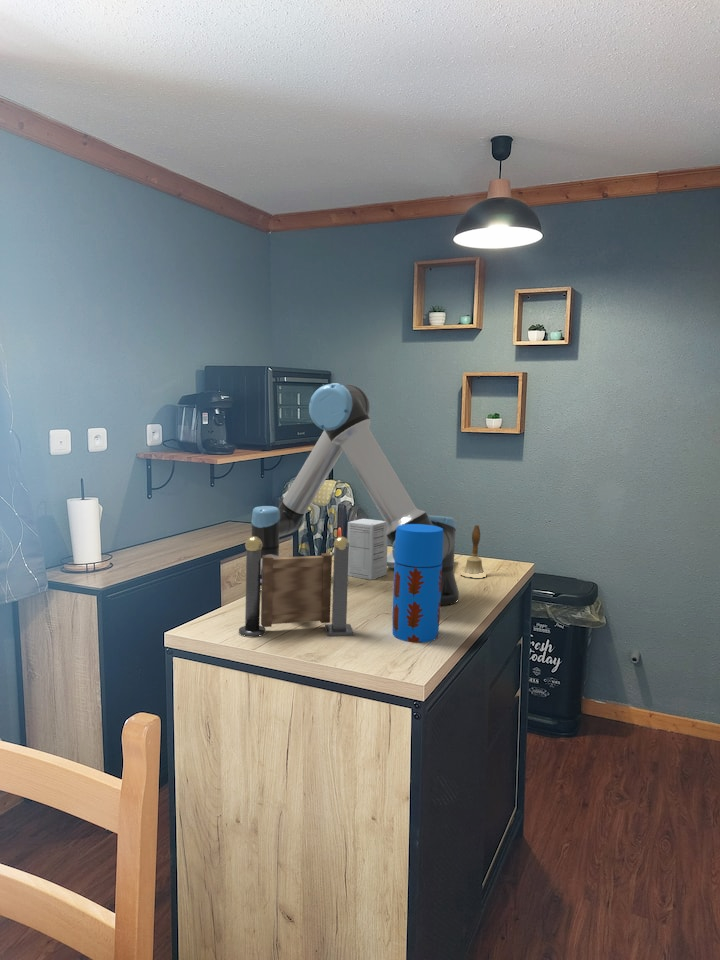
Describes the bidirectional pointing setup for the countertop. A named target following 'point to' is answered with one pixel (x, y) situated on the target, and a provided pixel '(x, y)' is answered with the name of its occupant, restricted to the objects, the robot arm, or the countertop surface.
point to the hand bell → (474, 555)
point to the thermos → (417, 582)
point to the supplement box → (367, 548)
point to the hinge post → (252, 588)
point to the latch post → (340, 590)
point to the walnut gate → (296, 589)
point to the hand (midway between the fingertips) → (301, 595)
